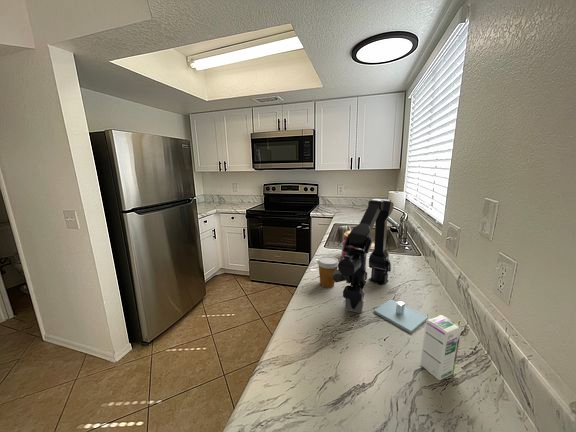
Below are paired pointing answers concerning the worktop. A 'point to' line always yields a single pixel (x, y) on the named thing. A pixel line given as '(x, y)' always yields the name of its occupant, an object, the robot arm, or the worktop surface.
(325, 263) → the disposable coffee cup
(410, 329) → the plate
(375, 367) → the worktop surface
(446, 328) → the syrup box
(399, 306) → the grey stone block
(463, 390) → the worktop surface
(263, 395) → the worktop surface
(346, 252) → the canister
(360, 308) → the grey block
